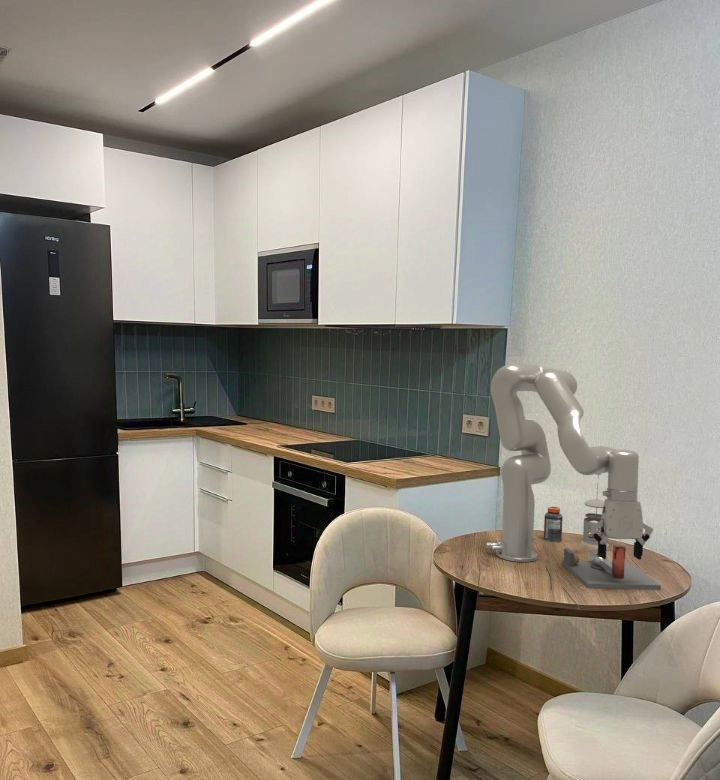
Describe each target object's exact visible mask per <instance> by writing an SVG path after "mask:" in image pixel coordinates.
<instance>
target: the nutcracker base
mask: <svg viewBox="0 0 720 780" xmlns="http://www.w3.org/2000/svg"><path fill="white" fill-rule="evenodd" d="M610 562H611V563H612V561H610ZM562 565H563V566H564V567H565V569H567V570H568V571H569V572H570V573H571V574H572V575H573V576H574V577H575V578H576V579H578V581H579V582H581V583H582V585H583V586H585V587H586V588H587V589H614V590H615V589H621V590H623V589H624V590H625V589H626V590H656V589H661V587H662V586H661V584H660V583H658V582H657V581H655V580H654V579H653V578H651V577H650V576H648V575H647V574H646V573H644V572H643V571H641V570H640V569H638V568H637V567H636V566H634V565H633V564H631V563H630V562H628V561H625V570H624V579H616V578H613V577H612V575H611V574H610V573H609V572H608V571H606V570H605V569H604V568H603V567H601V566H597V565H594V564H592V560H581V559H580V556H579V555H578V554H577V553H576V552H573V551H572V550H571V549H570V548H567V547H566V548H563V560H562Z"/></svg>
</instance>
